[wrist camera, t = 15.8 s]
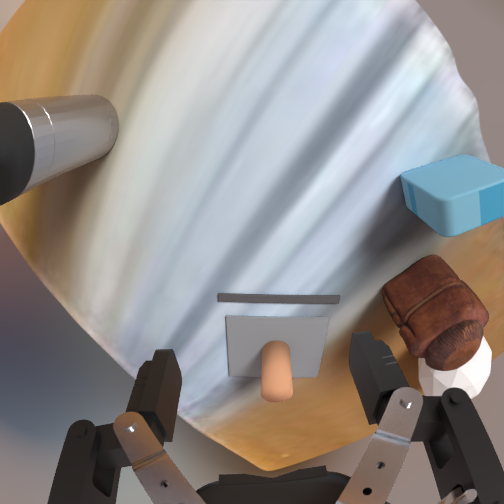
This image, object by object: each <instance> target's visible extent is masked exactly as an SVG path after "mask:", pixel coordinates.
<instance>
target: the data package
mask: <svg viewBox="0 0 504 504" xmlns="http://www.w3.org/2000/svg"><path fill="white" fill-rule="evenodd" d="M400 178H401V182H402V187H403V192H404V197H405V202H406V206H407V208H409V209H410V210H411V211H412V212H413V213H415V214H416V215H417V216H418V217H419V218H420V219H422V220H423V221H424V222H425V223H426V224H427V225H429V226H430V227H431V228H432V229H433V230H434V231H435V232H437V233H438V234H439V235H441V236H444V237H454V236H457V235H460V234H462V233H465V232H467V231H470V230H472V229H475V228H477V227H479V226H482V225H484V224H487V223H489V222H492V221H494V220H496V219H499V218H501V217H503V216H504V169H503V168H501V167H498V166H496V165H494V164H491V163H489V162H486V161H483V160H481V159H478V158H475V157H473V156H470V155H458V156H454V157H451V158H448V159H444V160H441V161H438V162H434V163H431V164H428V165H425V166H421V167H418V168H415V169H412V170H408V171H405V172H403V173H402V174H401V176H400Z"/></svg>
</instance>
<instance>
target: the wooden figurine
mask: <svg viewBox="0 0 504 504" xmlns="http://www.w3.org/2000/svg"><path fill="white" fill-rule="evenodd" d="M382 295H383V299H384V302H385V304H386V307H387V309H388V311H389V313H390V315H391V317H392V319H393V321H394V322H395V324H396V325H397V327H399V328H400V331H399V333H400V335H401V337H402V338H403V340H404V342H405V344H406V346H407V348H408V350H409V352H410V353H411V354H412V355H413V356H415V357H417V358H425V363H426V365H427V366H429V367H430V368H432V369H434V370H438V371H451V370H455V369H458V368H460V367H461V366H463V365H464V364H466V363H467V362H468V361H469V360H471V359H472V358H473V356H474V355H475V354H476V352H477V351H478V349H479V348H480V345H481V341H482V338H483V328H484V326H485V325H486V324H487V322H488V320H489V314H488V311H487V310H486V308H485V306H484V305H483V304H482V302H481V301H480V299H479V298H478V297H477V295H476V294H475V293H474V292H473V291H472V289H471V288H470V287H469V286H468V285H467V284H466V283H465V282H463V281H462V280H460V279H459V277H458V276H457V275H456V274H455V272H454V271H453V270H452V269H451V267H450V266H449V265H448V264H447V263H446V262H445V261H444V260H443V259H442V258H441V257H439V256H437V255H430V256H427V257H424V258H422V259H420V260H419V261H417V262H416V263H415V264H413V265H412V266H411V267H410V268H408V269H407V270H405V271H404V272H403V273H401V274H399V275H398V276H396V277H395V278H394V279H392V280H391V281H389V282H388V283H387V284H385V285H384V287H383V289H382Z"/></svg>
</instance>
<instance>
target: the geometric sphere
mask: <svg viewBox="0 0 504 504" xmlns="http://www.w3.org/2000/svg"><path fill="white" fill-rule="evenodd" d="M491 354H492V351H491V349H490V347H489V345H488V344H487V342H486V340H485V338H484V336H483V338H482V341H481V345H480V348H479V349H478V351H477V352H476V354H475V355H474V356H473V358H472V359H471V360H469V361H468V362H467V363H466V364H464V365H463V366H461V367H460V368H458V369H455V370H451V371H438V370H434V369H432V368H430V367H429V366H427V365H426V363H425V358H418V365H419V382H420V384H421V387H422V390H423V392H424V395H425V396H442V394H443V392H444V391H445V390H447V389H448V388H452V387H456V388H460V389H463V390H464V391H465V392H466V393H467V394H468V395H469V397H470V399H471V398H473V397H475V396H476V395H478V394H479V393H480V391H481V389H482V387H483V386H484V384H485V382H486V380H487V378H488V377H489V375H490V367H491Z"/></svg>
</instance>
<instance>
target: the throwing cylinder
mask: <svg viewBox="0 0 504 504" xmlns="http://www.w3.org/2000/svg"><path fill="white" fill-rule="evenodd" d="M292 394H293V389H292V373H291V359H290V348H289V346H288V345H287V344H286V343H285V342H282V341H270V342H268V343H266V344H265V345H264V346H263V348H262V376H261V396H262V397H263V399H265V400H267V401H269V402H283V401H286V400H288V399H289V398H291V396H292Z"/></svg>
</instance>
